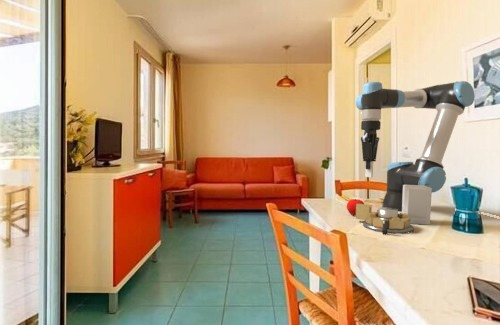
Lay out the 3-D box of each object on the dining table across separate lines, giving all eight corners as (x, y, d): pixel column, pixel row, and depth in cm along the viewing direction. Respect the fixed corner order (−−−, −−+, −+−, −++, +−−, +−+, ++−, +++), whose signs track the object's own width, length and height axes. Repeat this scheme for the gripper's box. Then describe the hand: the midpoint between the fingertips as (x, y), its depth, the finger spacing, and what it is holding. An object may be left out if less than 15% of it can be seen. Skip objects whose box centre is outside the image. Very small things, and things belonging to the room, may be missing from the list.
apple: (357, 212, 152) (358, 197, 152) (368, 216, 145) (369, 200, 144) (342, 213, 150) (343, 197, 149) (353, 217, 142) (354, 201, 142)
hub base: (374, 219, 141) (374, 202, 140) (419, 227, 128) (420, 209, 128) (352, 227, 126) (352, 209, 125) (400, 238, 113) (401, 218, 113)
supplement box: (430, 225, 131) (432, 188, 130) (406, 223, 133) (408, 187, 132) (423, 219, 140) (425, 185, 139) (401, 218, 142) (402, 184, 141)
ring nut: (414, 223, 128) (415, 208, 128) (400, 231, 117) (401, 214, 117) (365, 215, 142) (365, 201, 141) (348, 221, 131) (349, 206, 131)
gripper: (368, 121, 143) (367, 175, 145) (355, 119, 134) (353, 177, 136) (386, 120, 138) (384, 176, 140) (373, 119, 129) (370, 178, 130)
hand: (368, 176), depth 138 cm, fingers closed
